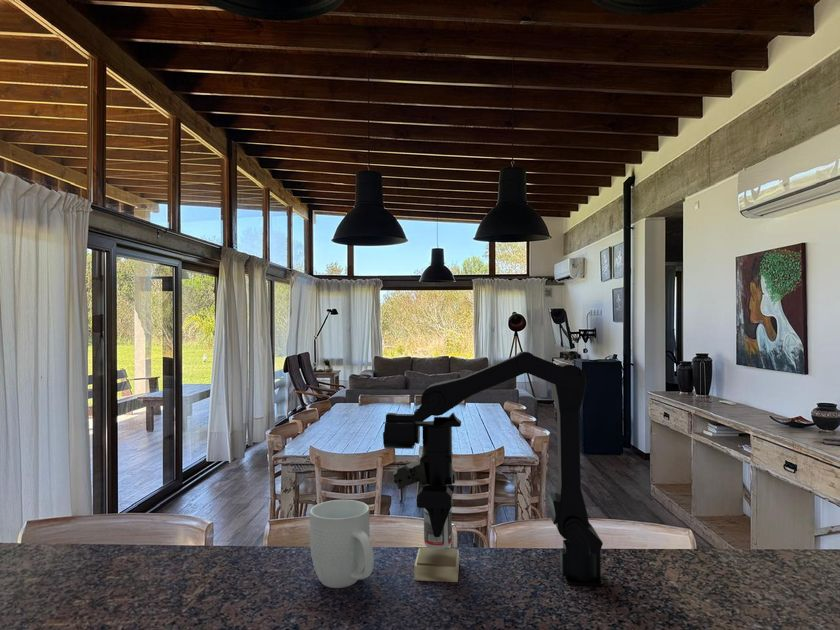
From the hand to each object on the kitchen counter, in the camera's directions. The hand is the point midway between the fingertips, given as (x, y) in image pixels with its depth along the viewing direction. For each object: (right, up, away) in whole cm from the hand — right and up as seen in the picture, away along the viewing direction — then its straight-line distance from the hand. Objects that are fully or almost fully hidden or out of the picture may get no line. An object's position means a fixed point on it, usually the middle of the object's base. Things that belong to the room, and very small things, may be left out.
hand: (438, 531), depth 98 cm
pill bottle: (0, -3, 0) cm, 3 cm away
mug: (-18, -8, -5) cm, 20 cm away
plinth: (0, -8, 0) cm, 8 cm away
